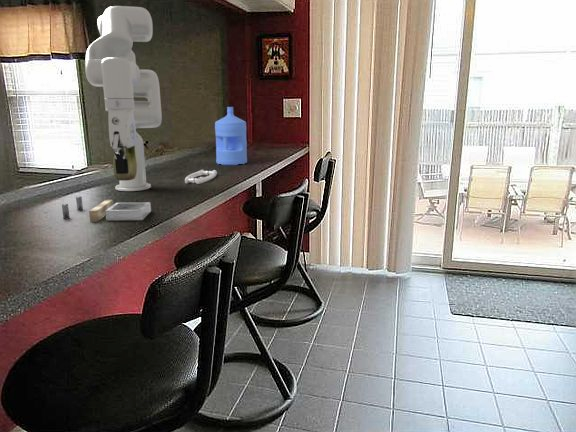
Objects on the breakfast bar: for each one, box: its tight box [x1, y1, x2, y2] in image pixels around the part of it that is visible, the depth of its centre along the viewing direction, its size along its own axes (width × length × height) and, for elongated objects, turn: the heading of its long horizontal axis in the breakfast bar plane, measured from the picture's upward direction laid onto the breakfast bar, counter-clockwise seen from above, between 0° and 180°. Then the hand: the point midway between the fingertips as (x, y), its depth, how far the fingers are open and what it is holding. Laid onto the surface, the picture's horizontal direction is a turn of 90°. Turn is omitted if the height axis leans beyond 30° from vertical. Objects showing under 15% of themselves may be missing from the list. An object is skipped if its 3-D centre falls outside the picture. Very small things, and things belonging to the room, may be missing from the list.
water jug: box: [214, 106, 248, 166], centre depth 233 cm, size 16×16×28 cm
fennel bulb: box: [112, 146, 137, 181], centre depth 130 cm, size 6×5×12 cm
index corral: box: [105, 201, 152, 222], centre depth 134 cm, size 10×10×3 cm
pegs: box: [61, 195, 84, 220], centre depth 136 cm, size 12×2×4 cm, turn 3°
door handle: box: [184, 169, 218, 185], centre depth 194 cm, size 3×10×25 cm
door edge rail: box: [88, 199, 114, 223], centre depth 135 cm, size 14×2×3 cm, turn 3°
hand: (125, 171), depth 131 cm, fingers closed on fennel bulb, 4 cm apart
